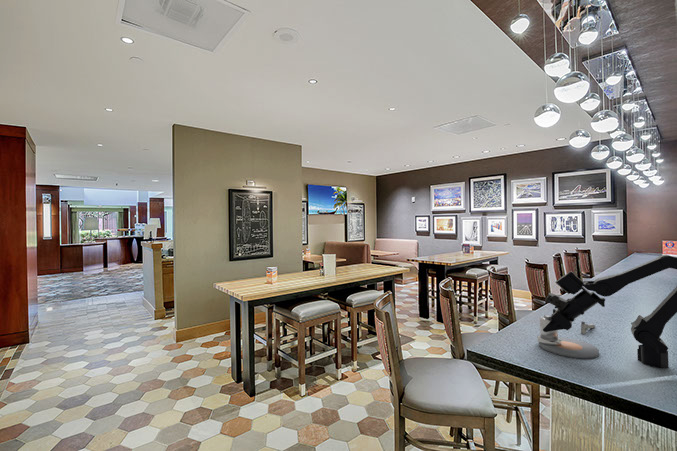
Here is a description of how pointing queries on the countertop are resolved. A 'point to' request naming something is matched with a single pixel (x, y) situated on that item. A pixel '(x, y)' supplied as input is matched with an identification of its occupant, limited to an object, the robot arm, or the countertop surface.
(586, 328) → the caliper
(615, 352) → the countertop surface
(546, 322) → the cover
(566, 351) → the turntable
